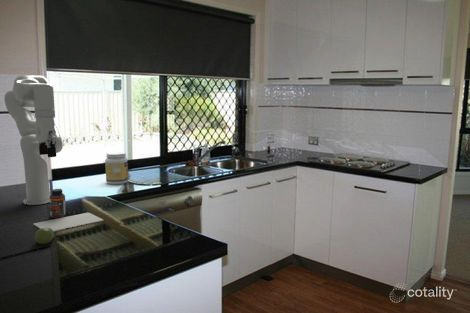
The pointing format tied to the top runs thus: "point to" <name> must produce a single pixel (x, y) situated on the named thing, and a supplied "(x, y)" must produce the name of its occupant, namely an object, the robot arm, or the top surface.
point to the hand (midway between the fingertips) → (47, 155)
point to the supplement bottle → (57, 204)
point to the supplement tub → (116, 168)
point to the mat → (69, 222)
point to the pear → (44, 235)
